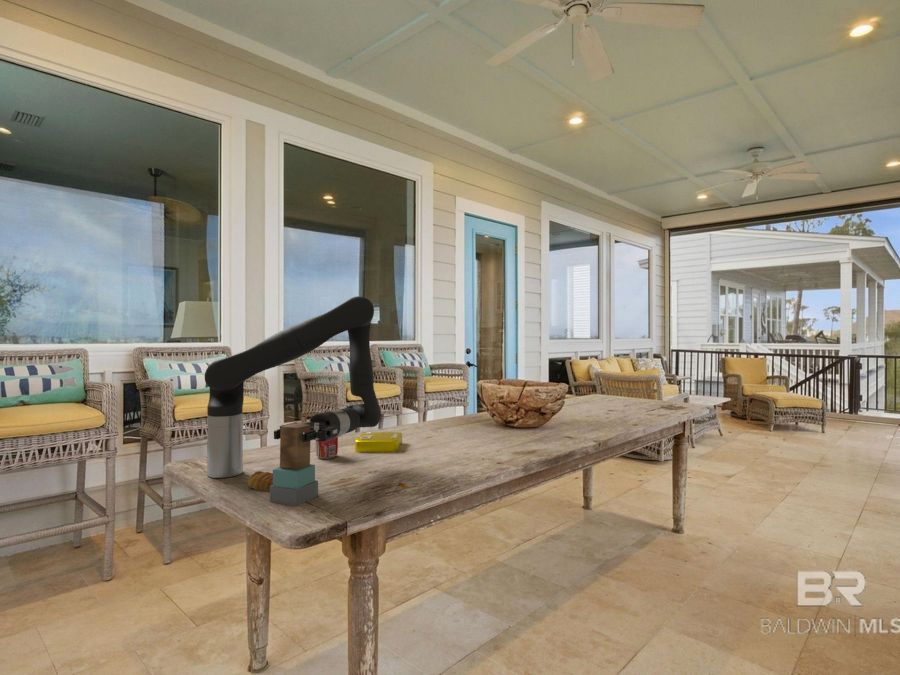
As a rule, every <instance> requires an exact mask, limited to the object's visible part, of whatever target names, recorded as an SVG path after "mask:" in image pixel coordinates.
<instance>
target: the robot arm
mask: <svg viewBox="0 0 900 675" xmlns="http://www.w3.org/2000/svg"><path fill="white" fill-rule="evenodd" d="M374 315H375V306H374V304H373V302H372V301H371V300H370V299H368V298H366V297H364V296H359V295H358V296H353V297H351V298H349V299H347V300H345V301H344V302H343V303H340V304H338V305H336V307H334V308H332V309H330V310H328V311H327V312H324V313H323V314H319V315H317V316H315V317H310V318H308V319H306V320H303V321H301V322H298V323H296V324H293V325H291V326H290V327H286V328H285V329H283V330H280V331H277V332H276V333H274V334H273V335H271V336H269V337H267V338H265V339H264V340H262V341H260V342H258V343H257V344H255V345H254V346H252V347H249V348H248V349H245V350H244V351H241V352H239V353H238V352H237V353H236V354H232V355H230V356H228V357H223V358H220V359H217V360H216V359H215V360H214V361H212V362H211V363H210V364H209V365H208V366H207V368H206V370H205V373H204V382H205V383H206V385H207V387H208V388H209V398H208V403H207V408H206V410H207V411H206V414H207V415H206V416H207V419H206V420H207V423H206V424H207V441H206V472H207V476H208V477H210V478H213V479H214V478H215V479H216V478H217V479H222V478H231V477H235V476H238V475H241V474H242V473H243V472H244V459H243V458H244V448H243V447H244V445H243V443H244V442H243V441H244V434H243V433H244V432H243V430H244V428H243V414H244V413H243V412H244V411H243V407H244V406H243V405H244V394H245V393H244V392H245V391H244V390H245V389H244V387H245V386H244V384H245V381H246V380H248V379H251V378H252V377H253V376H255V375H257V374H260V373H262V372H264V371H267V370H271V369H273V368H276V367H278V366H281V365H284V364H287V363H289V362H291V361H294V360H296V359H298V358H300V357H303V356H305V355H306V354H309V353H310V352H312V351H314V350H316V349H317V348H319V347H321V346H322V345H323V344H324V343H326V342H327V341H329V340H330V339H332V338H333V337H335V336H337V335H339V334H342V333H343V332H347V334H348V341H349V384H350V387H349V389H350V394H351V395H352V396H353V397H358V398H361V400H362V401H363V403H360V404H359V403H357V404H351V405H347V406H346V407H344V408H341V409H333V410H327V411H323V412H319V413H318V412H317V413H316V414H314V415H312V416H311V418H310V419H309V421H304V422H300V423H299V422H291V423H287V424H283V425H282V424H281V425H279V429H274V430H273V439H274V440H280V430H281V426H285V425H289V424H294V423H296V424H307V425H311V431H308V432H304V433H302V442H308V441H310V442H312V441H313V440H315V442H316V441H318V442H324V441H327V440H330V439H333V438H336V437H338V438H339V437H341V436H344V435H346V434H349V433H352V432H353V431H355V430H356V429H357V428H374V427H377V426H378V425H379V423H380V421H381V418H382V411H381V407H380V405H379V401H378V398H377V394H376V392H375V387H374V371H373V362H372V361H373V360H372V355H371V354H372V353H371V347H370V346H371V345H370V344H371V343H370V334H371V323H372V320H373V318H374Z"/></svg>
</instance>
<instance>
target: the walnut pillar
mask: <svg viewBox="0 0 900 675" xmlns="http://www.w3.org/2000/svg"><path fill="white" fill-rule="evenodd" d="M293 423H294V424H291V423H288V424H289V425H286V424H284V425H285V426H281V425H280V426H281V430H280V439H279V440H280V441H279V443H280V444H279V446H280V447H279V467H280V468H285V469H293V470H298V469H301V468H304V467H306V466H309V465H310V464H311V441H308V442H302V433H304V432H308V431H311V425H307V424H296V423H295V422H293Z"/></svg>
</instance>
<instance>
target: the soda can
mask: <svg viewBox="0 0 900 675" xmlns="http://www.w3.org/2000/svg"><path fill="white" fill-rule="evenodd" d="M338 452H339V437H336V438H333V439H330V440H327V441H324V442H318V441H316V440H315V455H316V457H318V458H319V459H322V460H328V459H333V458H335V457H336V456H337V455H338Z"/></svg>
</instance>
